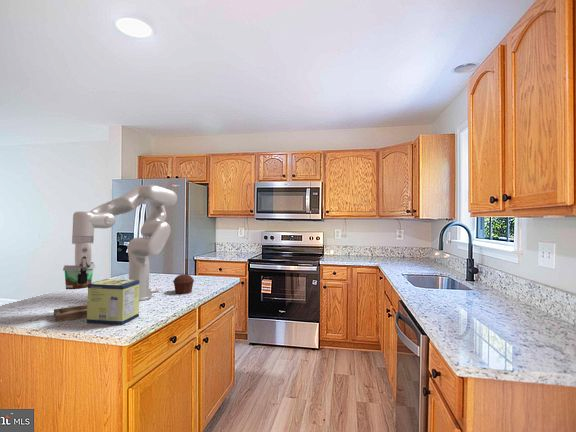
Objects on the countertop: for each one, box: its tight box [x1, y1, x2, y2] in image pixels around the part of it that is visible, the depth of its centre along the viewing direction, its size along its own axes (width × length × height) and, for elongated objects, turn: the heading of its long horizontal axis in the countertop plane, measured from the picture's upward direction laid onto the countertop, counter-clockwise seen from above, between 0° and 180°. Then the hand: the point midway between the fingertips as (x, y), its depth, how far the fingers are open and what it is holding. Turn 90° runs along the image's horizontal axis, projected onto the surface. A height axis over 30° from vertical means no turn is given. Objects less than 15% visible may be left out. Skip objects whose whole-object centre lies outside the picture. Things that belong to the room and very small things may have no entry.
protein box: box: [86, 278, 140, 326], centre depth 116 cm, size 10×16×16 cm
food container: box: [62, 261, 96, 290], centre depth 121 cm, size 12×6×10 cm, turn 162°
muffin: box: [172, 273, 195, 295], centre depth 162 cm, size 12×11×10 cm
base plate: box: [53, 304, 87, 323], centre depth 121 cm, size 17×11×2 cm, turn 133°
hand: (81, 281), depth 121 cm, fingers closed on food container, 6 cm apart
